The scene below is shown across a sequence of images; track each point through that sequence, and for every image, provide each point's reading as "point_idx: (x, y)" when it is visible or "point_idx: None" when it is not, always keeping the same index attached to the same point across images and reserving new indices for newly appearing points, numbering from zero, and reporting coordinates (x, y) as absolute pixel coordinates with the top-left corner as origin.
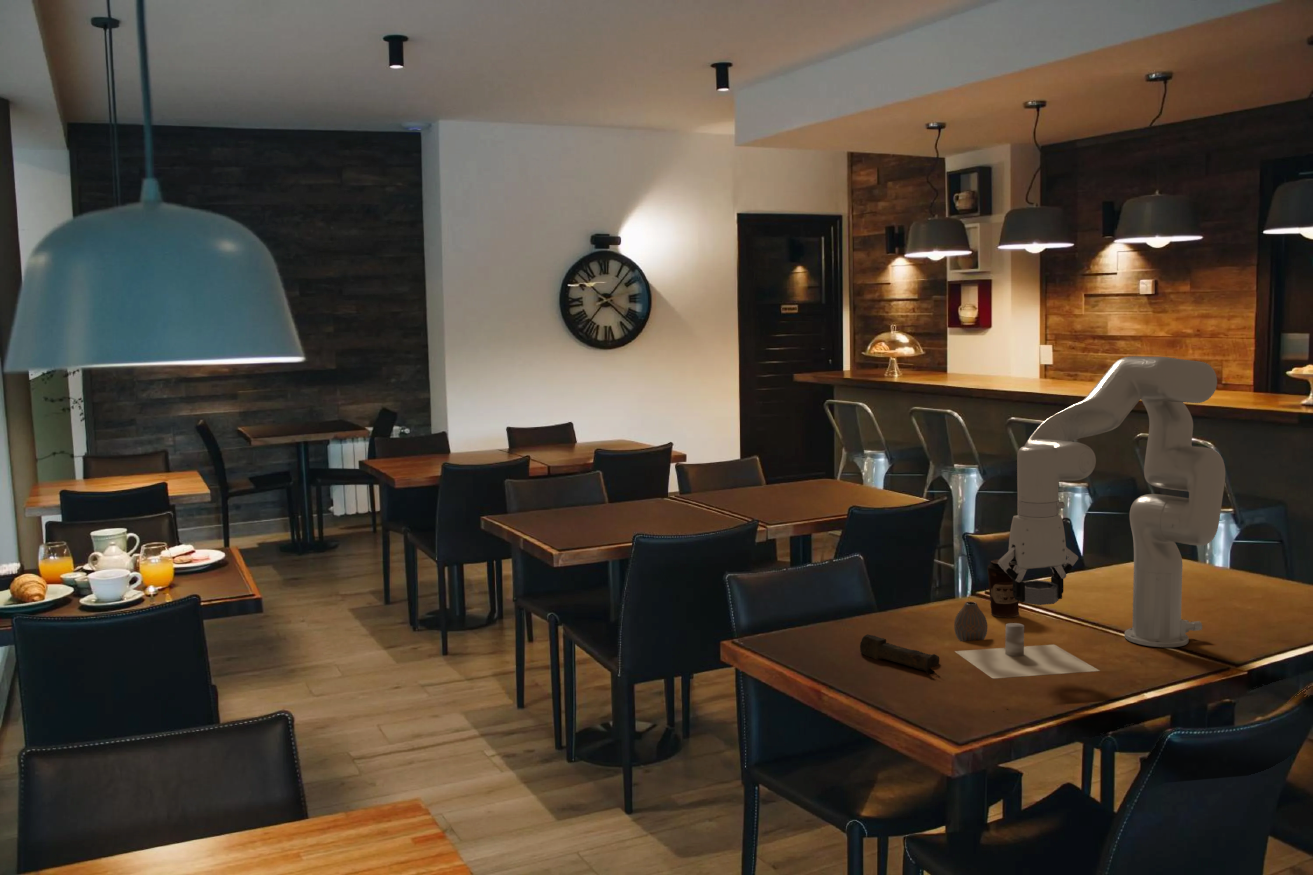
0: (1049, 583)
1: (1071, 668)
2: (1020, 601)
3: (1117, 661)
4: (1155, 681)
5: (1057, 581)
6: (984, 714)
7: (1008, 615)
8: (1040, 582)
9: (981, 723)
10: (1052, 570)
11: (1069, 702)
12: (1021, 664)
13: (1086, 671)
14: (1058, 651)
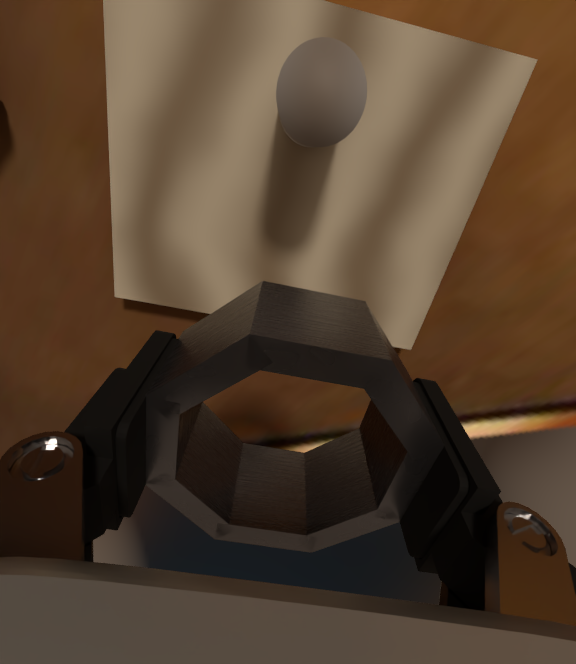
0: (398, 462)
1: None
2: None
3: (570, 252)
4: (487, 395)
5: (410, 538)
6: (36, 414)
7: None
8: (376, 404)
9: (16, 442)
10: (489, 561)
11: (232, 421)
12: (260, 224)
13: None
14: (468, 154)
